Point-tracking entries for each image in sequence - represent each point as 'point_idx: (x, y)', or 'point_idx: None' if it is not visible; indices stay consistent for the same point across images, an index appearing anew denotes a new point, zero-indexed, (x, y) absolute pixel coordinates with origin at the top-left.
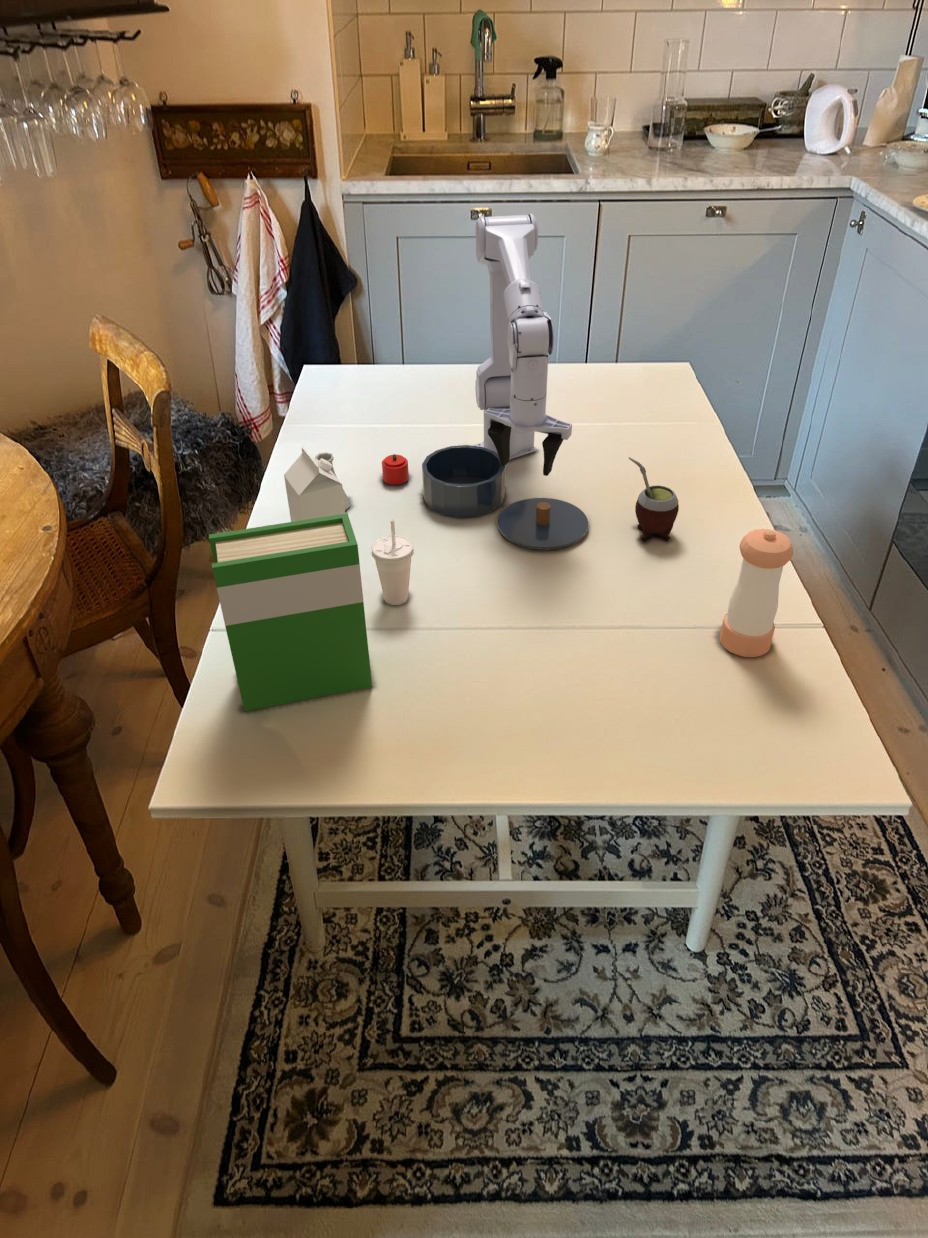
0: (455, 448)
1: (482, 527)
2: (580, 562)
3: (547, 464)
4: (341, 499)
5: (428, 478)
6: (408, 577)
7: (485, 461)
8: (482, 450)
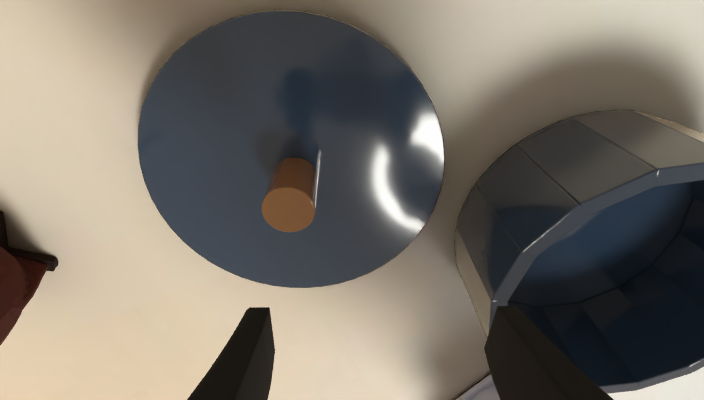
0: (674, 367)
1: (483, 90)
2: (69, 14)
3: (215, 371)
4: None
5: None
6: None
7: None
8: None
